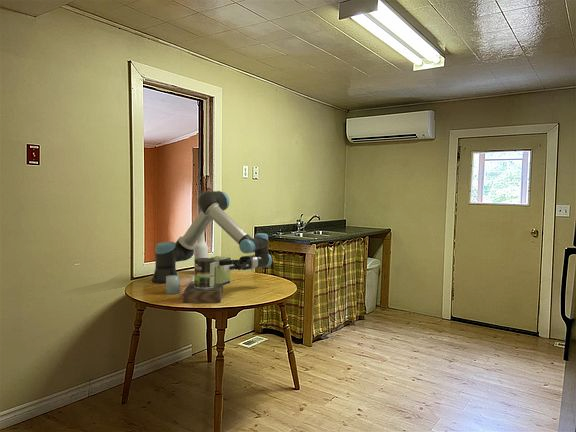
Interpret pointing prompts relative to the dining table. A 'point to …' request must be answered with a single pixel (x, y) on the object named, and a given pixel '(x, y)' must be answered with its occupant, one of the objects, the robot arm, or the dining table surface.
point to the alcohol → (201, 248)
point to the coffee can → (204, 273)
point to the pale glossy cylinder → (172, 284)
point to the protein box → (221, 272)
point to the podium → (203, 294)
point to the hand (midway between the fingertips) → (215, 266)
